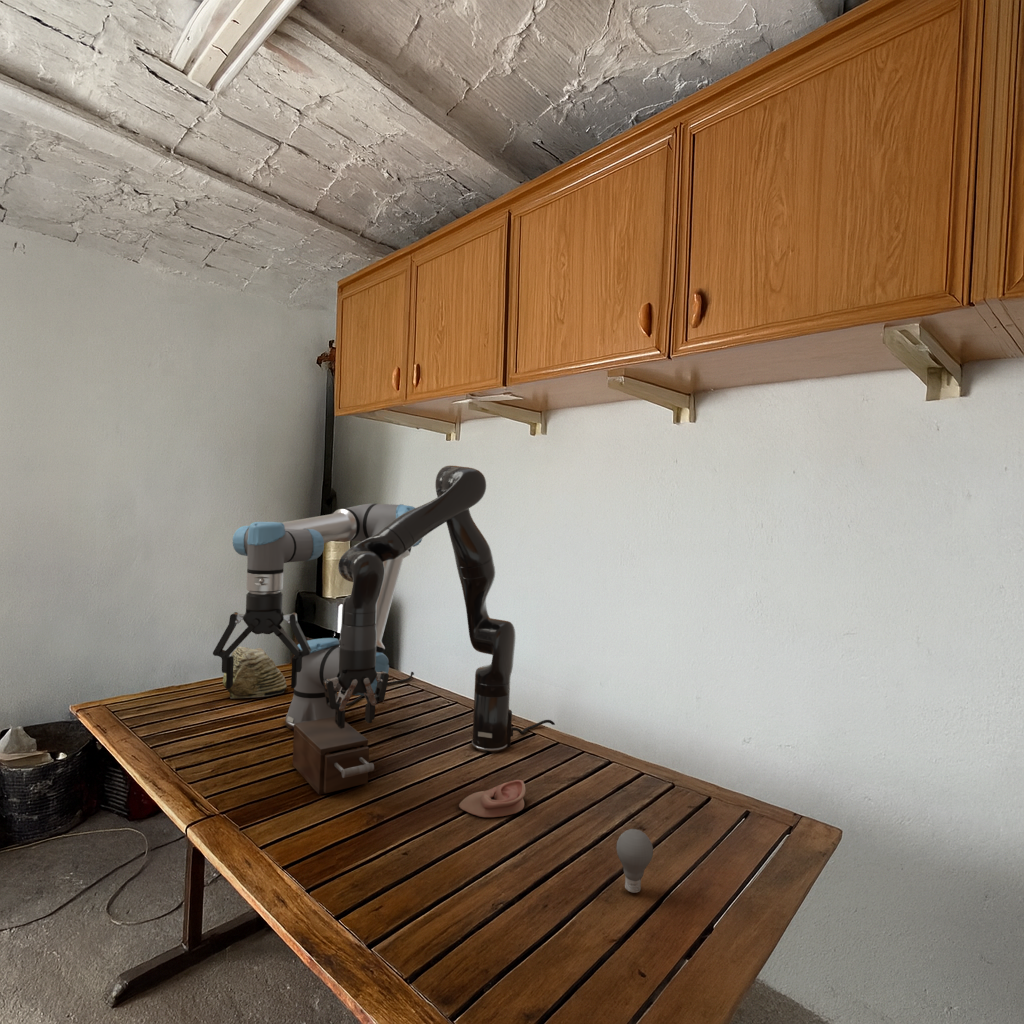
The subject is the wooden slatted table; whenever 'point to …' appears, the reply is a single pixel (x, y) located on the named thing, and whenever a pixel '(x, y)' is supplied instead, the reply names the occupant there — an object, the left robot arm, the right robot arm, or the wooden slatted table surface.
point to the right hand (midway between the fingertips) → (355, 724)
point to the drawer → (346, 768)
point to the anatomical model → (496, 800)
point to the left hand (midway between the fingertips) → (261, 686)
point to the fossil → (254, 675)
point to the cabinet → (321, 747)
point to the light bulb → (634, 857)
